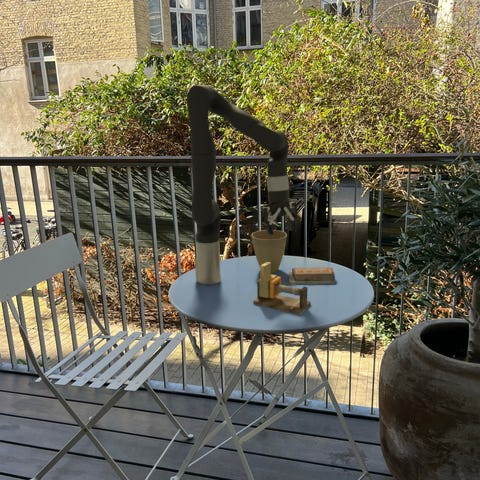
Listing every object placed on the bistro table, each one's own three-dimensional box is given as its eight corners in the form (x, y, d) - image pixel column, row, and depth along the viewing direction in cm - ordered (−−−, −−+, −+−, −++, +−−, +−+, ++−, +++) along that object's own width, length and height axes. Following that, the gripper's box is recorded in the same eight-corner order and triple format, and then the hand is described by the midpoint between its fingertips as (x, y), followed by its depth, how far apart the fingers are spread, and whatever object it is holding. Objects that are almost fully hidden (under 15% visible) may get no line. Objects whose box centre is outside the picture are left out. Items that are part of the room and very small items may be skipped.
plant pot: (245, 268, 198) (245, 232, 194) (275, 262, 204) (275, 228, 200) (262, 278, 185) (262, 241, 181) (293, 272, 192) (293, 235, 187)
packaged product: (332, 264, 186) (336, 273, 177) (332, 275, 188) (335, 285, 178) (288, 264, 187) (289, 273, 178) (288, 275, 189) (289, 285, 179)
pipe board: (253, 303, 162) (253, 283, 159) (265, 295, 169) (265, 275, 167) (299, 314, 152) (299, 293, 150) (310, 304, 159) (310, 284, 157)
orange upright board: (269, 297, 159) (269, 281, 157) (278, 291, 164) (277, 276, 162) (273, 298, 158) (272, 282, 157) (280, 292, 163) (280, 276, 161)
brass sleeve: (259, 296, 161) (259, 266, 158) (268, 290, 166) (268, 261, 163) (268, 298, 159) (267, 268, 156) (276, 292, 164) (276, 262, 161)
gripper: (288, 185, 168) (291, 227, 172) (255, 190, 162) (258, 234, 166) (300, 186, 162) (302, 230, 166) (266, 192, 156) (269, 237, 159)
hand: (280, 232), depth 166 cm, fingers open, 8 cm apart
